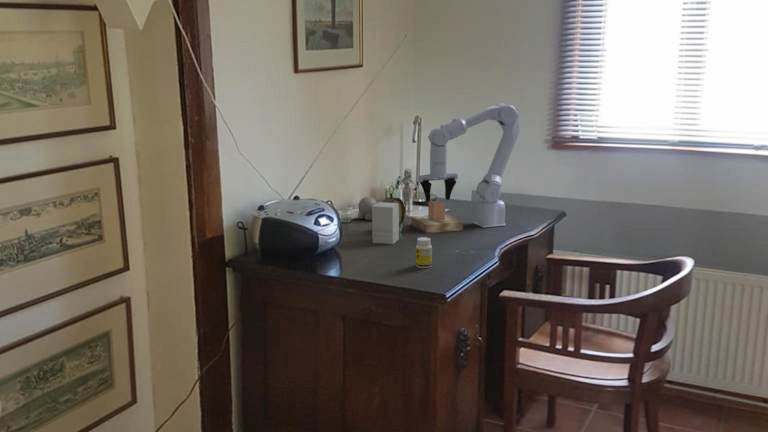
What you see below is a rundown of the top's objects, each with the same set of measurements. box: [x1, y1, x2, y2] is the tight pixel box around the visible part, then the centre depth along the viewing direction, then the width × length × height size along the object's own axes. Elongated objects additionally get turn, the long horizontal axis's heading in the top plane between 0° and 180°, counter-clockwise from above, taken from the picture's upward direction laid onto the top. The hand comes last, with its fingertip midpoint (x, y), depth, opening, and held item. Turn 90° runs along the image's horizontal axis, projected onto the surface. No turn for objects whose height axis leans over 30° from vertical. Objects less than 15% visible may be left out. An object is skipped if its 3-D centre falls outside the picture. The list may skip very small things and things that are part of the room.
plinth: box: [410, 213, 464, 234], centre depth 274 cm, size 14×14×3 cm
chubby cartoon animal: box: [357, 196, 384, 221], centre depth 286 cm, size 7×12×8 cm, turn 60°
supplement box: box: [371, 201, 400, 245], centre depth 254 cm, size 7×7×13 cm
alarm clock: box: [382, 185, 406, 229], centre depth 268 cm, size 11×5×16 cm, turn 148°
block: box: [427, 200, 446, 221], centre depth 273 cm, size 4×4×6 cm
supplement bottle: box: [415, 236, 433, 269], centre depth 226 cm, size 5×5×8 cm
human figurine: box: [393, 168, 423, 217], centre depth 293 cm, size 12×4×18 cm, turn 68°
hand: (437, 200), depth 273 cm, fingers open, 7 cm apart
